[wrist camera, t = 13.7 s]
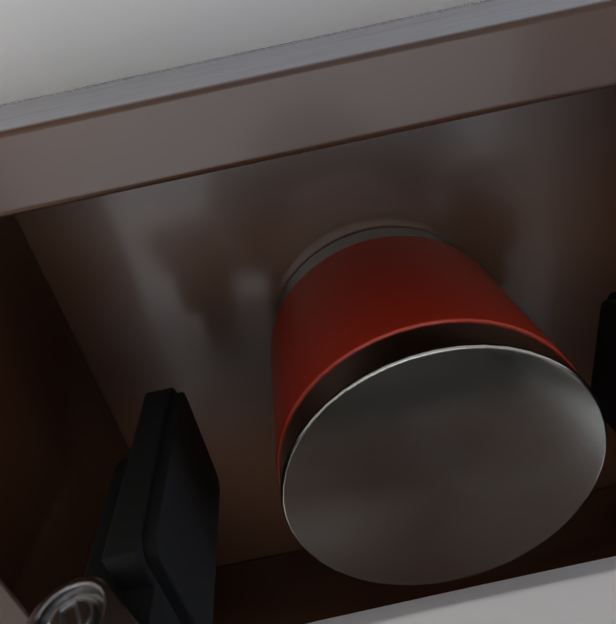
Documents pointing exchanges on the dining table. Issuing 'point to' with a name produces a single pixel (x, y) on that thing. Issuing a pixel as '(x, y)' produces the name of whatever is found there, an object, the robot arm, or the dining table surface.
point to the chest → (283, 262)
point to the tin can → (422, 414)
